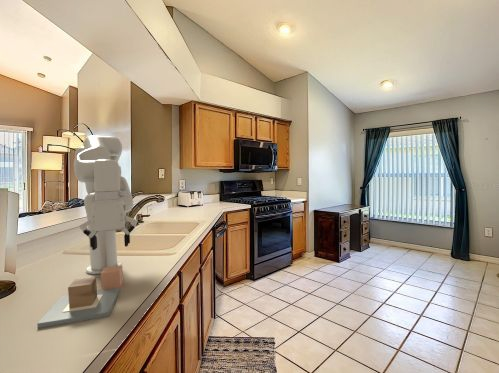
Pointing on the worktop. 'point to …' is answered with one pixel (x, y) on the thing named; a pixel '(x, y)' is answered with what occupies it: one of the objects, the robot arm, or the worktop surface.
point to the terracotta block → (112, 277)
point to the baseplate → (80, 309)
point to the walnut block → (82, 292)
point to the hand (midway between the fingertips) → (111, 247)
